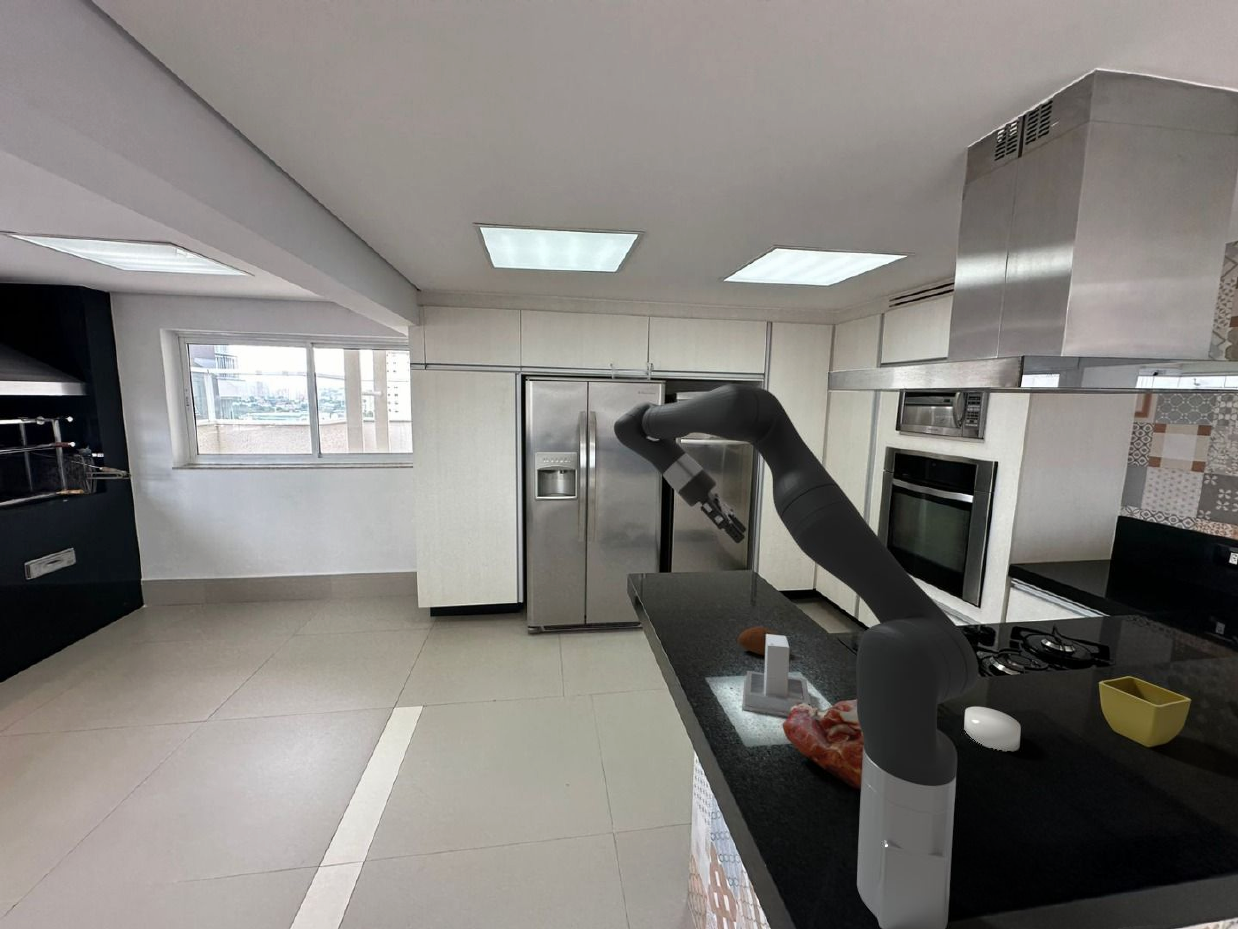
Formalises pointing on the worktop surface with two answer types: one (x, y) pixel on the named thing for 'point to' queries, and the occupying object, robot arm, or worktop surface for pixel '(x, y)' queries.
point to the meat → (829, 738)
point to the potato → (755, 639)
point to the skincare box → (776, 666)
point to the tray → (773, 704)
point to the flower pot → (1143, 710)
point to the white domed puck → (992, 728)
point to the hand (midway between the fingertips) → (742, 536)
